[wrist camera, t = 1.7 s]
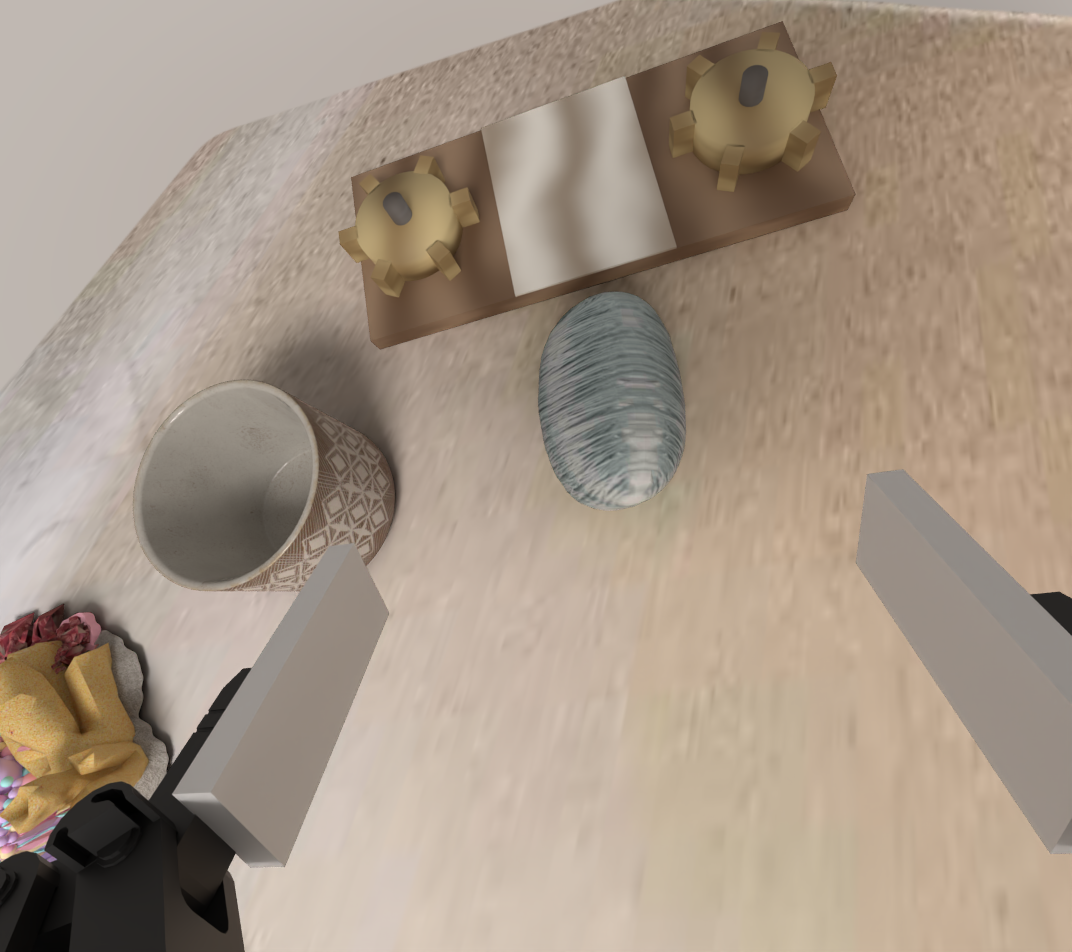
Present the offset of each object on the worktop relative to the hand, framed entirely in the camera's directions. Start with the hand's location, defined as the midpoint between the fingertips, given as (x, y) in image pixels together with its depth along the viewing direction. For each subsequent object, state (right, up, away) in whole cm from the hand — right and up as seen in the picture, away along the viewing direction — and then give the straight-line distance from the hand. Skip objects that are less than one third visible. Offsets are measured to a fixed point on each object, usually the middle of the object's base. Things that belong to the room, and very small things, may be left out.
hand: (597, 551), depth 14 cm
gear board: (+1, +24, +28) cm, 37 cm away
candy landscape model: (-41, -22, +28) cm, 54 cm away
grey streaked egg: (+4, +6, +23) cm, 24 cm away
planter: (-18, -1, +27) cm, 32 cm away
